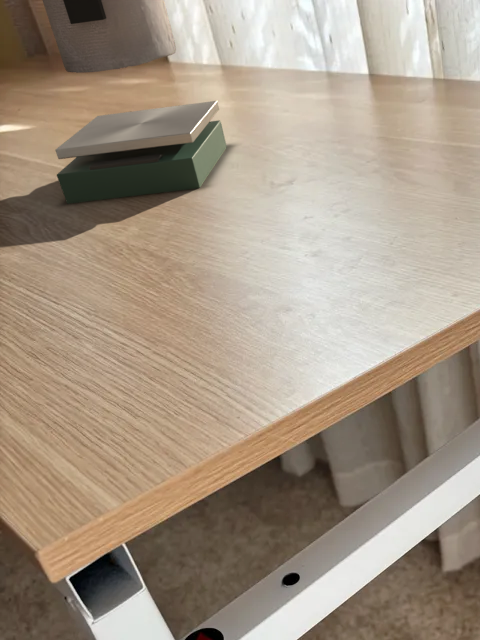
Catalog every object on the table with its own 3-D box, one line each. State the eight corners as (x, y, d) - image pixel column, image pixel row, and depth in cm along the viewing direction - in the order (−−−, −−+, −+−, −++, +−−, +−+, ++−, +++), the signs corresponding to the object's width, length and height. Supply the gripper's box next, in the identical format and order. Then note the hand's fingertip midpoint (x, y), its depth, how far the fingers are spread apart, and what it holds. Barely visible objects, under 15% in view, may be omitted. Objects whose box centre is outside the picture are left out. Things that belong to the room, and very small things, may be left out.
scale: (66, 204, 71) (54, 171, 70) (110, 162, 81) (100, 132, 80) (200, 188, 70) (191, 154, 69) (227, 147, 80) (220, 117, 78)
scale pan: (58, 159, 70) (54, 149, 70) (99, 124, 80) (97, 115, 79) (193, 142, 69) (190, 132, 69) (219, 109, 79) (217, 100, 78)
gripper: (-26, -441, 45) (112, 26, 60) (96, -359, 62) (180, -11, 77) (-152, -416, 46) (14, 40, 60) (2, -342, 63) (104, 0, 77)
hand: (107, 11), depth 68 cm, fingers closed on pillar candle, 10 cm apart
